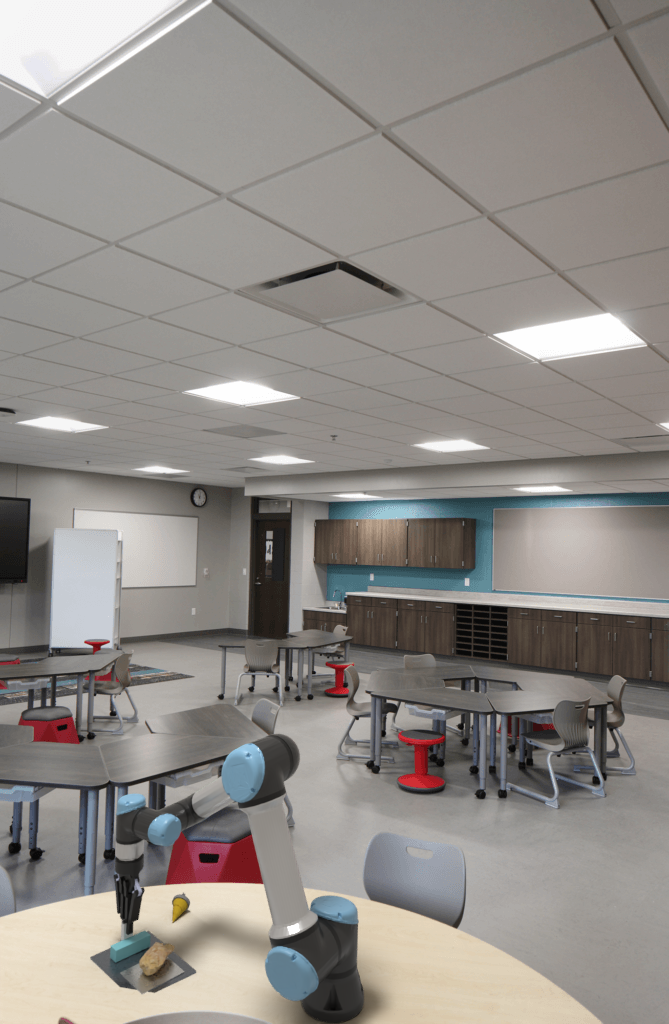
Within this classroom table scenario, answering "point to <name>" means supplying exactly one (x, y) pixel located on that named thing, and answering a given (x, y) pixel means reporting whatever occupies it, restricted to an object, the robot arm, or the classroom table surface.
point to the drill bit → (179, 905)
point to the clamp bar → (130, 946)
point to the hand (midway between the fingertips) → (126, 944)
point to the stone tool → (155, 957)
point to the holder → (133, 976)
